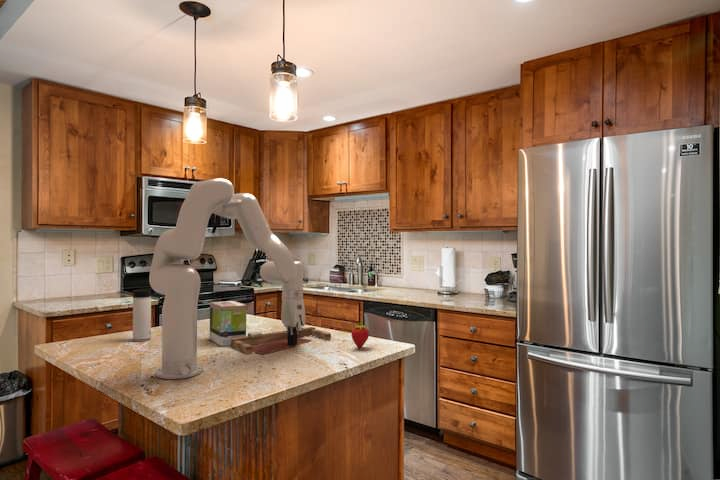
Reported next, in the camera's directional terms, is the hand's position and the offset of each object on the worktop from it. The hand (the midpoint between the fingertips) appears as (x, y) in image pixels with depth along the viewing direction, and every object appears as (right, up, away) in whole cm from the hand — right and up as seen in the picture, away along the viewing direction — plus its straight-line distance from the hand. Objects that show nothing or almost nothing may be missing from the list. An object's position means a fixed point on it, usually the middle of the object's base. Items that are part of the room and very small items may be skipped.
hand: (292, 344), depth 161 cm
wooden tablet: (-4, -1, +2) cm, 5 cm away
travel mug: (-59, -1, +9) cm, 60 cm away
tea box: (-26, -1, +8) cm, 27 cm away
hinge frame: (-4, -1, +5) cm, 7 cm away
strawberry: (+25, -1, -2) cm, 25 cm away
